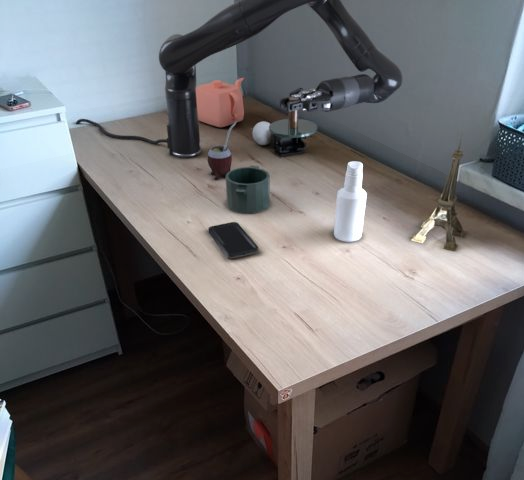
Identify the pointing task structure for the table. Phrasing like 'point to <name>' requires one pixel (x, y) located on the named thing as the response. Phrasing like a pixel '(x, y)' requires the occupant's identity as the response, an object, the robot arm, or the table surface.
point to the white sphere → (262, 133)
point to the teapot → (220, 103)
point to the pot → (248, 189)
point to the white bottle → (350, 205)
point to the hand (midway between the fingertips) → (284, 105)
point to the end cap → (287, 145)
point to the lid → (293, 125)
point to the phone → (233, 240)
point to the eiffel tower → (447, 201)
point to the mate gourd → (220, 159)
